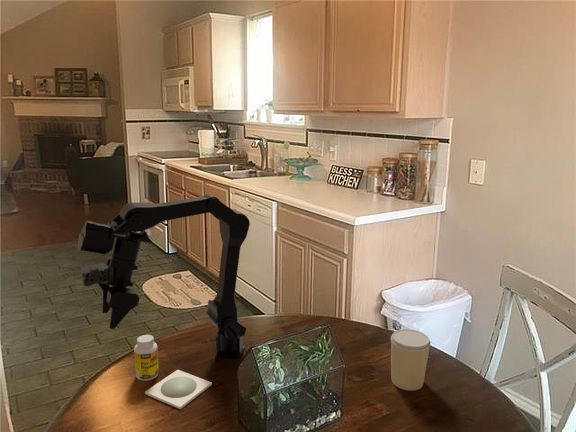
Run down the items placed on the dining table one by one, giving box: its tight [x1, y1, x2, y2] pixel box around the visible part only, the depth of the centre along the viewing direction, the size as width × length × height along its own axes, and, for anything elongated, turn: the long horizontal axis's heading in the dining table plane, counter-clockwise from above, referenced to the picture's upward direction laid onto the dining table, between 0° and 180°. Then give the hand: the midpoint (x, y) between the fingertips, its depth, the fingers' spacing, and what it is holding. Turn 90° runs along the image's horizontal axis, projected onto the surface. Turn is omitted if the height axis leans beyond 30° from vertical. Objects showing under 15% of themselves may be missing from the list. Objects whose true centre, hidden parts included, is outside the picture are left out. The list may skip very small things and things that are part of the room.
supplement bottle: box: [133, 334, 160, 382], centre depth 117 cm, size 6×6×10 cm
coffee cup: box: [390, 328, 431, 391], centre depth 116 cm, size 9×9×12 cm
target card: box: [144, 369, 213, 410], centre depth 113 cm, size 11×11×1 cm
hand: (108, 320), depth 111 cm, fingers open, 9 cm apart
